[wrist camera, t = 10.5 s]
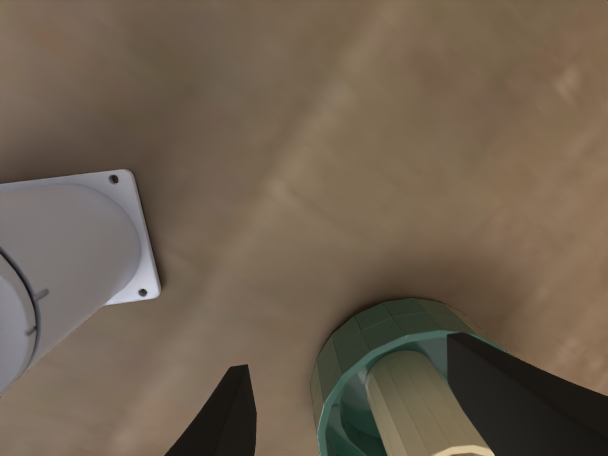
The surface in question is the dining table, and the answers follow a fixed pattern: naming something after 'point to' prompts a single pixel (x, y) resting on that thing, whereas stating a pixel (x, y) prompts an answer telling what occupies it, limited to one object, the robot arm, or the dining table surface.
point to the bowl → (360, 359)
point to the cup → (419, 409)
